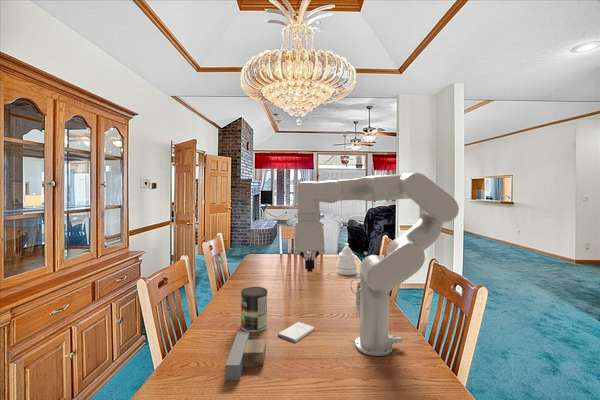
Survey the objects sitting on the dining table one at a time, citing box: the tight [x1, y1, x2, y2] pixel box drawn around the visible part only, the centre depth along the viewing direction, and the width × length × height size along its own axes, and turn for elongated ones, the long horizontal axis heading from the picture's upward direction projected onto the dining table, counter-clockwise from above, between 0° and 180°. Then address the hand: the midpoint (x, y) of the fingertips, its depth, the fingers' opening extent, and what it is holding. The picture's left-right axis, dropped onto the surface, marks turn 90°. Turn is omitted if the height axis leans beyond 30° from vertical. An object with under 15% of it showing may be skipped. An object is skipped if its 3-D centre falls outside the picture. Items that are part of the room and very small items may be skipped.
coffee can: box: [240, 286, 269, 333], centre depth 121 cm, size 10×10×14 cm
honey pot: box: [336, 242, 358, 276], centre depth 200 cm, size 13×13×18 cm
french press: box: [350, 251, 369, 309], centre depth 144 cm, size 10×12×25 cm
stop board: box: [224, 331, 250, 381], centre depth 98 cm, size 4×20×4 cm, turn 1°
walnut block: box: [243, 339, 267, 367], centre depth 99 cm, size 6×8×4 cm
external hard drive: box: [277, 321, 316, 343], centre depth 117 cm, size 2×8×12 cm
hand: (309, 270), depth 106 cm, fingers closed
